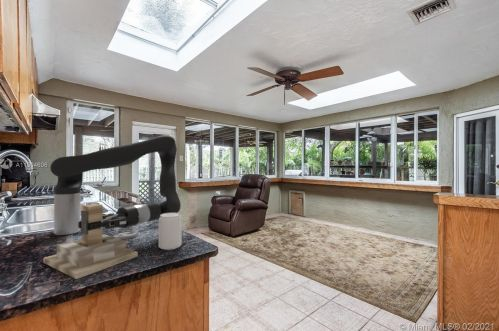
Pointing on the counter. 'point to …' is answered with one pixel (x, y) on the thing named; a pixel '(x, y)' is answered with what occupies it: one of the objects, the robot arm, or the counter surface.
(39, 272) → the counter surface
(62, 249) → the wooden socket base
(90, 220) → the tan long rectangular block
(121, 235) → the adjustable wrench
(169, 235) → the beverage can
